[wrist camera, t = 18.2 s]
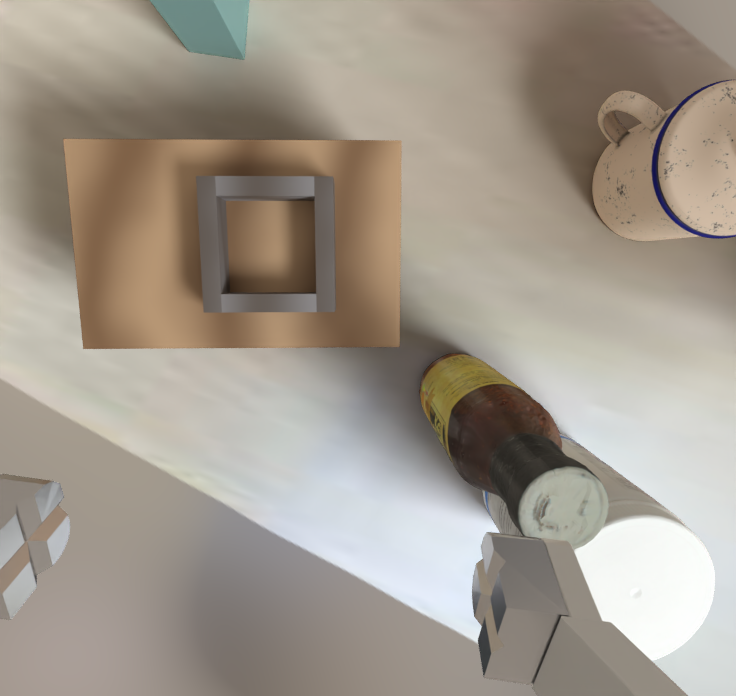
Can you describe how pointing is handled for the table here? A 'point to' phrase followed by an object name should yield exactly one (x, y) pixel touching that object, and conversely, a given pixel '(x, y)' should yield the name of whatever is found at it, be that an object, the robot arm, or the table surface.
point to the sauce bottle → (511, 450)
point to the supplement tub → (637, 562)
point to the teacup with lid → (669, 166)
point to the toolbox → (236, 242)
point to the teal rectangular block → (208, 25)
